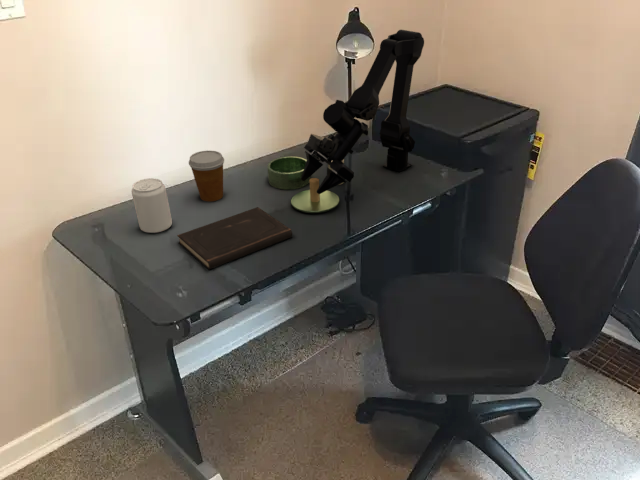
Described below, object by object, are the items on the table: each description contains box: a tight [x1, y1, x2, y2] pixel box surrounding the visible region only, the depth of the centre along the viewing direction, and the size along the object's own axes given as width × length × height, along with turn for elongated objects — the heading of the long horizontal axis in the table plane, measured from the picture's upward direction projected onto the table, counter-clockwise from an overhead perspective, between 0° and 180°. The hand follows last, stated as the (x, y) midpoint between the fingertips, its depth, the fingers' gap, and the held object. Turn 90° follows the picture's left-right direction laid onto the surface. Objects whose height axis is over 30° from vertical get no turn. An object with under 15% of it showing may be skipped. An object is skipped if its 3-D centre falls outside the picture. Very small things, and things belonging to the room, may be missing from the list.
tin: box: [266, 156, 312, 191], centre depth 179 cm, size 12×12×5 cm
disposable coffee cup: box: [188, 150, 225, 202], centre depth 168 cm, size 10×10×12 cm
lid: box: [290, 177, 340, 214], centre depth 166 cm, size 13×13×7 cm
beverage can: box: [131, 177, 173, 234], centre depth 154 cm, size 8×8×12 cm
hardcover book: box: [177, 206, 293, 270], centre depth 151 cm, size 16×23×2 cm
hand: (309, 186), depth 164 cm, fingers open, 9 cm apart
